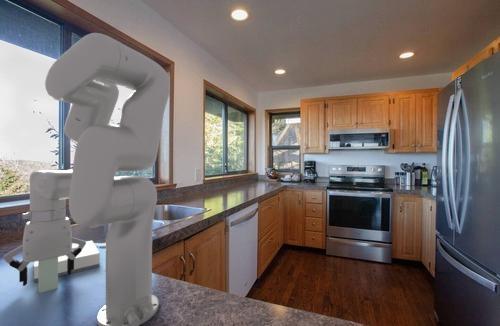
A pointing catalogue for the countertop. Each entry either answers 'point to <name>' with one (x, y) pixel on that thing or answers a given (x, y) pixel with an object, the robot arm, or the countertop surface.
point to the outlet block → (76, 260)
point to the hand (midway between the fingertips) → (48, 277)
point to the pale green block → (47, 274)
